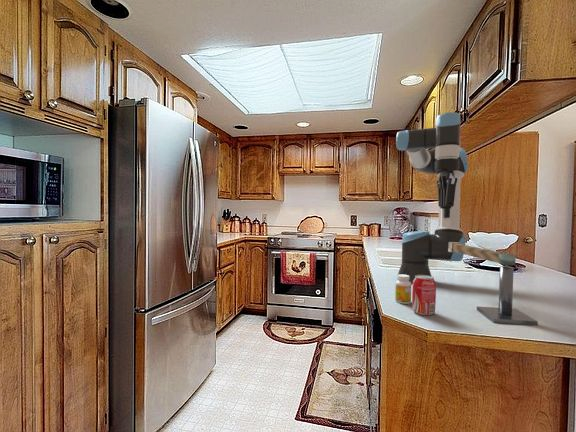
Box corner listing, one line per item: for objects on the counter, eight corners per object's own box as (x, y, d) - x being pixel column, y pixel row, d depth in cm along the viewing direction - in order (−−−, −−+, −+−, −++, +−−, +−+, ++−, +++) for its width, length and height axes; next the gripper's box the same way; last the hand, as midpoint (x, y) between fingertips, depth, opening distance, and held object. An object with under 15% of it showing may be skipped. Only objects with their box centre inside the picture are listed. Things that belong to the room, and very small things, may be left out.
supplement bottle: (392, 300, 119) (392, 274, 118) (403, 299, 121) (404, 273, 120) (402, 304, 114) (402, 277, 113) (414, 303, 116) (414, 276, 115)
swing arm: (518, 266, 99) (519, 254, 99) (505, 266, 99) (505, 254, 99) (457, 251, 131) (458, 242, 131) (447, 251, 131) (447, 242, 131)
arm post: (476, 309, 109) (478, 263, 108) (515, 312, 107) (517, 264, 106) (493, 322, 97) (495, 270, 96) (537, 325, 95) (539, 271, 94)
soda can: (415, 308, 110) (416, 273, 110) (437, 312, 106) (438, 276, 105) (408, 313, 105) (409, 276, 104) (431, 318, 100) (432, 280, 100)
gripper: (466, 156, 104) (464, 228, 104) (451, 161, 117) (449, 226, 117) (442, 156, 105) (440, 228, 105) (429, 161, 118) (428, 226, 118)
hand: (445, 227), depth 111 cm, fingers closed
